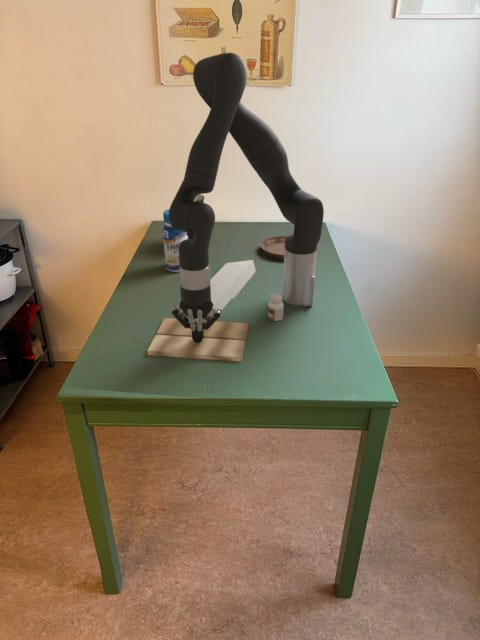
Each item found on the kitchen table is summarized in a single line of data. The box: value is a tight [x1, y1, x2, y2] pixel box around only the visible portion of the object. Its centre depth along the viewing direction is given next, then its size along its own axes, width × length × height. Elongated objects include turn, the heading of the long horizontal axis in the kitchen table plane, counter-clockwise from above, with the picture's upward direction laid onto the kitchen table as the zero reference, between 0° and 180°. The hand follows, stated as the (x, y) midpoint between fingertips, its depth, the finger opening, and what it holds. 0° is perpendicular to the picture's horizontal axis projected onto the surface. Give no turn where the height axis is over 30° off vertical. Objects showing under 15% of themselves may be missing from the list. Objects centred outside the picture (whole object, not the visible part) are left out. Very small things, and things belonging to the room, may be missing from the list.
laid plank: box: [156, 317, 250, 342], centre depth 139 cm, size 24×8×2 cm, turn 83°
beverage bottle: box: [162, 208, 188, 273], centre depth 171 cm, size 8×8×20 cm
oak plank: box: [147, 334, 246, 362], centre depth 131 cm, size 24×8×2 cm, turn 83°
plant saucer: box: [260, 235, 289, 260], centre depth 187 cm, size 18×18×3 cm
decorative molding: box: [206, 259, 257, 318], centre depth 161 cm, size 34×5×10 cm
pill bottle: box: [267, 292, 284, 322], centre depth 144 cm, size 4×4×8 cm
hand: (198, 340), depth 133 cm, fingers closed
